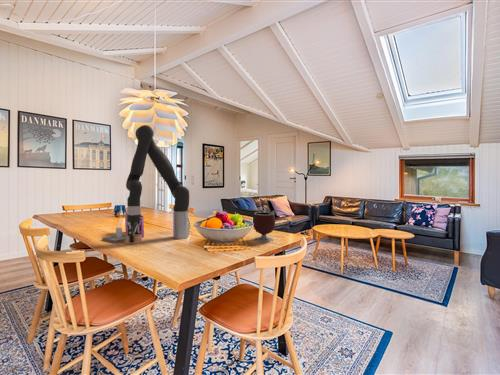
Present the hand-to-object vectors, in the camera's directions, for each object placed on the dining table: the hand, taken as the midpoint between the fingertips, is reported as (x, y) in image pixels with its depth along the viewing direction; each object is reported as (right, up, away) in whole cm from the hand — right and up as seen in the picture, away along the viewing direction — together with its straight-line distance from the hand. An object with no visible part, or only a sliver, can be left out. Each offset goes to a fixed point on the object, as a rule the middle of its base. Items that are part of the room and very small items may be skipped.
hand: (134, 240), depth 162 cm
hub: (0, -1, 0) cm, 1 cm away
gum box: (-9, 0, +21) cm, 23 cm away
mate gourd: (+78, -2, +12) cm, 79 cm away
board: (-12, 0, +7) cm, 14 cm away
